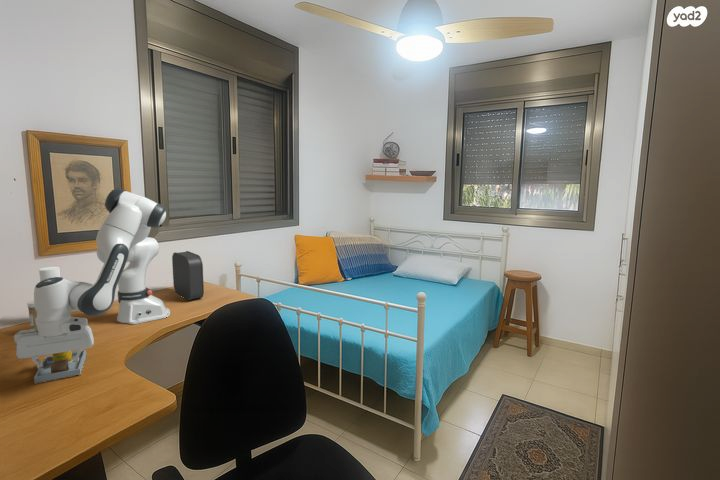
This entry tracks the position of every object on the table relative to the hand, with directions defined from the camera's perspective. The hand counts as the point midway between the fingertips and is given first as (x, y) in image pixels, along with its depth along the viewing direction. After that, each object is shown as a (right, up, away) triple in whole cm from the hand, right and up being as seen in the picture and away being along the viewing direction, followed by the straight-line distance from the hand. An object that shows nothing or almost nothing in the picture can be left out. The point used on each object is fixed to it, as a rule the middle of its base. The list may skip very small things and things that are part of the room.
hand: (58, 364), depth 126 cm
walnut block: (0, -3, +1) cm, 3 cm away
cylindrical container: (-40, +5, +47) cm, 62 cm away
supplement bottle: (-5, -2, +8) cm, 9 cm away
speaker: (+4, +10, +87) cm, 88 cm away
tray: (-2, -3, +4) cm, 6 cm away
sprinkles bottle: (-37, +3, +34) cm, 51 cm away
